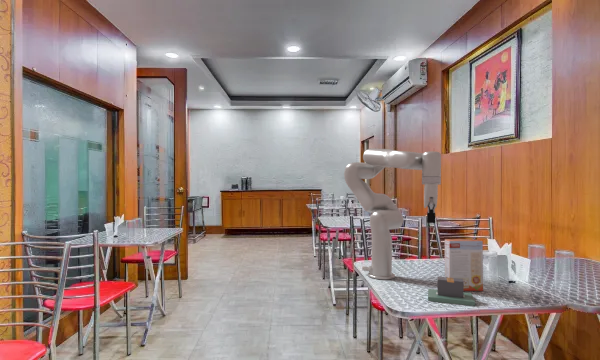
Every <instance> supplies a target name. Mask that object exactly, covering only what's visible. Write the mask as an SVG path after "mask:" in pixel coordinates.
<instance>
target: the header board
mask: <svg viewBox="0 0 600 360" xmlns="http://www.w3.org/2000/svg"><path fill="white" fill-rule="evenodd" d="M427 294H428V296H427V301H428V302H434V303H442V304H443V303H444V304H452V305H453V304H455V305H461V306H471V307H476V301H475V299H474V296H473V294H472V292H468V291H464V295H463V298H459V297H449V296H439V295H438V292H437V289H435V288H428V289H427Z"/></svg>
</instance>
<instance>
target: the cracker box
mask: <svg viewBox="0 0 600 360" xmlns="http://www.w3.org/2000/svg"><path fill="white" fill-rule="evenodd" d="M483 243H484V241H483V240H480V239H477V238H474V239H473V238H472V239H470V238H467V239H466V238H465V239H464V238H445V239H444V277H448V278H459V279H463V282H464V292H483V291H484V255H483V253H484V248H483V247H484V244H483Z"/></svg>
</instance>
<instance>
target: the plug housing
mask: <svg viewBox="0 0 600 360" xmlns="http://www.w3.org/2000/svg"><path fill="white" fill-rule="evenodd" d="M436 281H437V285H436V286H437V292H438V295H439V296H449V297H459V298H463V295H464V292H465V291H464V282H463V279H459V278H448V277H445V276H437V280H436Z"/></svg>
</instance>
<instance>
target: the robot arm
mask: <svg viewBox="0 0 600 360" xmlns="http://www.w3.org/2000/svg"><path fill="white" fill-rule="evenodd" d="M362 159H363V161H364V162H359V161H358V162H357V161H355V162H354V161H353V162H350V163H348V164H347V165H346V166H345V167H344V173H343V175H344V181H345V183H346V185H347V187H348V188H349V189H350V191H351V192H352V193H353V195H354V196H355V198H356V199H357V201H358V202H359V203H360V205H361V207H362V208H363V209H364V211H365V212H367V213H371V214H370V216H369V226H370V232H371V265H369V266H365V265H364V266H363V265H362V271H364V272H367V276H368V277H369V278H371V279H376V280H392V279H395V278H396V274H394V273H393V272H392V271H393V238H392V235H391V232H390V230H396V229H400V228H401V227H402V226H403V224H404V217H403V214H402V212H401V211H400V209H399V208H398V206H397V205H396V203H395V202H394V201H393V200H392V198H391V197H390V196H388V195H387V194H385V193H379V192H378V193H376V192H374V191H373V190H372V189H371V187H370V185H369V184H368V183H367V182H365V181H364V180H371V179H373V178H375V177H376V176H378V174H379V173H381V172H382V171H383V170H384V169H385V168H389V169H391V168H396V169H403V170H416V171H421V185H424V186H423V187H424V188H423V208H424V209H426V208H427V212H426V223H428V224H436V210H435V209H436V208H437V205H438V192H439V189H438V187H439V185H442V155H441V152H440V151H433V150H432V151H424V152H415V151H405V150H395V149H388V148H376V147H375V148H373V147H372V148H371V147H370V148H367V149H366V150H365V151H364V152H363V155H362Z"/></svg>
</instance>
